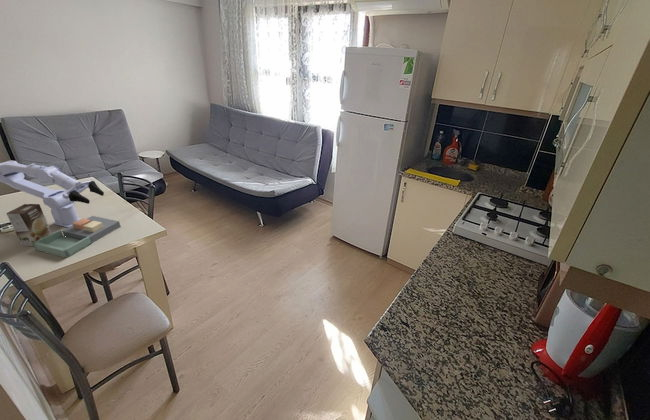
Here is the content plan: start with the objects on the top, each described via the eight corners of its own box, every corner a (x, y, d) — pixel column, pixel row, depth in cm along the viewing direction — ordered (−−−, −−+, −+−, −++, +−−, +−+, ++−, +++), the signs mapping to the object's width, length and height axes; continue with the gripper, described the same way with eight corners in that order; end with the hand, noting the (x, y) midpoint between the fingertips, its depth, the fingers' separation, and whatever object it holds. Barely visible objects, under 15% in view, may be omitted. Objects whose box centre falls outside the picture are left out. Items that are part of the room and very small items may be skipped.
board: (64, 236, 134) (61, 230, 133) (94, 220, 147) (92, 215, 146) (92, 242, 131) (90, 237, 130) (120, 226, 144) (119, 221, 143)
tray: (35, 249, 125) (32, 243, 123) (62, 236, 134) (59, 230, 132) (67, 257, 121) (64, 250, 120) (91, 243, 131) (89, 237, 129)
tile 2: (84, 230, 134) (83, 225, 133) (95, 225, 139) (93, 220, 137) (93, 232, 133) (92, 227, 132) (103, 227, 138) (102, 222, 136)
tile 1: (73, 227, 136) (71, 223, 134) (84, 222, 140) (82, 218, 139) (82, 229, 135) (80, 225, 133) (92, 224, 139) (90, 220, 138)
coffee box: (37, 246, 127) (22, 213, 119) (21, 246, 126) (5, 213, 119) (53, 234, 135) (39, 203, 127) (38, 234, 134) (23, 203, 127)
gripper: (52, 183, 125) (81, 199, 126) (82, 170, 137) (109, 184, 139) (53, 195, 129) (82, 210, 130) (82, 181, 141) (108, 195, 142)
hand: (96, 197), depth 135 cm, fingers open, 7 cm apart
